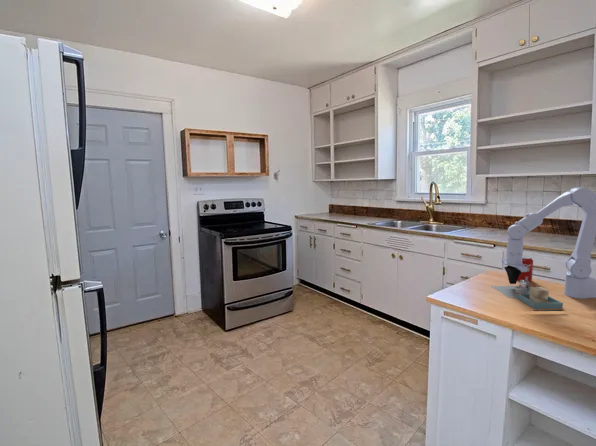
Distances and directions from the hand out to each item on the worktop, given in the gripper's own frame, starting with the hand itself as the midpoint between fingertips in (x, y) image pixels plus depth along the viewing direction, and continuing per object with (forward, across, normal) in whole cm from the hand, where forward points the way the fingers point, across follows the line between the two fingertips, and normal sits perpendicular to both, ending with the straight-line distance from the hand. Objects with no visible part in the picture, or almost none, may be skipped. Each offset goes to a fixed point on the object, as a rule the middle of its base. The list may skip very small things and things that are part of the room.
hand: (512, 283), depth 141 cm
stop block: (+2, +17, 0) cm, 17 cm away
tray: (+3, +18, -1) cm, 18 cm away
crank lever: (+2, +3, +2) cm, 4 cm away
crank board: (+3, +5, 0) cm, 5 cm away
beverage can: (+3, -10, +11) cm, 16 cm away
